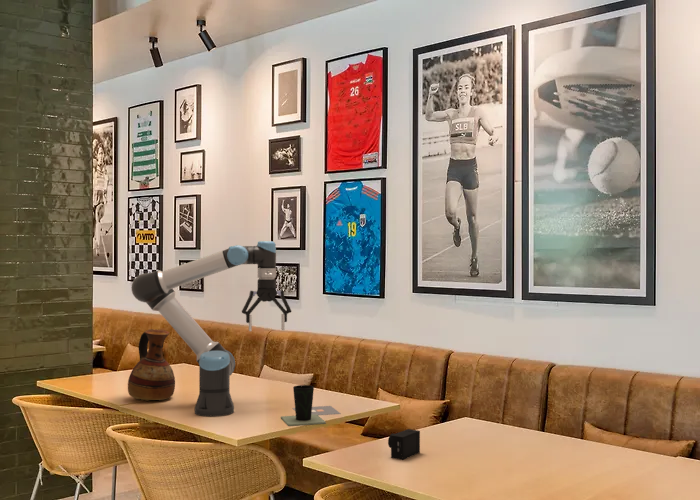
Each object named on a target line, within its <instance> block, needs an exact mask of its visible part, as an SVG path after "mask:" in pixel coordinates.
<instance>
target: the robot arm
mask: <svg viewBox="0 0 700 500" xmlns="http://www.w3.org/2000/svg"><path fill="white" fill-rule="evenodd" d="M276 247H277V246H276V242H274V241H272V240H271V241H270V240H267V241H266V240H265V241H264V240H263V241H262V240H260V241H257V245H253V246H252V245H238V244H235V245H233V246H229V247H228V248H225V249H224V250H221V251H218V252H215V253H212V254H209V255H207V256H203V257H200V258H198V259H194V260H192V261H189V262H187V263H183V264H180V265H178V266H174V267H172V268H171V267H170V268H169V269H166V270H163V271H162V270H159V269H158V270H155V271H152V272H148V273H141V274H139V275H137V276H136V277H135V278H134V279H133V281H132V284H131V292H132V295H133V297H134V298H135V299H136V300H138V301H139V302H142V303H146V305H148V307H149V308H150V309H151V310H152V311H153V312H154V311H155V312H159V314H160V315H161V316H162V317H163V318H164V319H165V321H167V323H168V324H169V325H170V326H171V328H172V329H173V330H174V331H175V332H176V333H177V334H178V336H179V337H180V338H181V339H182V340H183V341H184V342H185V343H186V344H187V346H188V347H189V348H190V349H191V350H192V352H193V353H194V354H195V355H196V362H197V363H198V365H199V366H198V369H199V373H198V374H199V381H198V382H199V383H198V384H199V394H198V395H197V396H198V397H197V400H196V403H195V406H194V414H195V415H196V416H201V417H222V416H229V415H231V414H233V413H235V405H234V402H233V400H232V396H231V393H230V376H231V375H232V374H233V373H234V370H235V367H236V361H235V360H236V359H235V357H234V356H233V354H232V353H231V352H230V351H229V350H227V349H225V347H224V346H222V344H221V343H220V342H219V341H213V340H212V339H211V337H210V336H209V335H208V334H207V333H206V332H205V330H204V329H203V327H201V326H200V325H199V323H198V322H197V321H196V320H195V319H194V318H193V317H192V315H191V314H190V313H189V312H188V311H187V310H186V308H184V307H185V306H183V305H182V304H181V303H180V301H179V300H178V299H177V298H176V291H175V290H174V289H175V288H177V287H181V286H185V285H186V284H190V283H192V282H194V281H199V280H200V279H203V278H206V277H209V276H212V275H214V274H218V273H220V272H223V271H226V270H229V269H231V268H236V267H238V266H241V265H257V278H258V279H257V289H256V290H255V291H254V290H250V291H249V295H248V298H247V299H246V302H245V304H244V306H243V307H242V310H241V314H244V315H245V321H246V324H248V331H249V332H252V331H253V330H252V324H253V323H252V321H253V317H252V314H251V313H252V312H253V311H254V310H255V309H256V307H258V305H259V304H260V303H261V302H263V303H264V302H265V303H266V302H273V303H274V304H275V305H276V306H277V308H278V309H279V310H280V311H281V318H280V319H281V329H280V330H281V331H285V329H286V327H285V323H287V322H288V314H289V313H292V309H291V306H290V305H289V303H288V301H287V299H286V296H285V293H284V290H277V280H276V279H275V278H277V272H276V271H277V269H276V268H277V267H276V266H277V248H276ZM277 295H278V296H279V297H280V299H281V301H282V303H283V305H284V306H282V304H281V303H280V302H279V301H278V299H277V298H276V296H277ZM255 296H257V299H256V300H255V301H254V302H253V304H252V305H251V306H250V304H251V302H252V300H253V298H254V297H255ZM249 306H250V307H249ZM284 307H285V308H284ZM248 308H249V309H248Z"/></svg>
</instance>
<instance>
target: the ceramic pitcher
mask: <svg viewBox="0 0 700 500" xmlns="http://www.w3.org/2000/svg"><path fill="white" fill-rule="evenodd" d="M169 335H170V331H167V330H164V329H153V328H150V329H148V330H146V329H145V331H144V332H143V333H142V334H141V336H140V339H139V342H138V354H139V361H138V362H137V364H135V366H134V367H133V368H132V370H131V372H130V374H129V377H128V380H127V392H128V394H129V396H130V397H132V398H133V399H135V400H138V399H141V400H140V401H143V400H159V401H164V400H167V399H169V398H171V397H173V395H174V392H175V389H176V388H175V387H176V379H175V378H176V377H175V374H174V371H173V368H172V366H171V365H170V363H169V362H168V360H166V359H165V357H164V356H163V355H164V354H163V348H164V343H165V341H166V338H168V336H169Z"/></svg>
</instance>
